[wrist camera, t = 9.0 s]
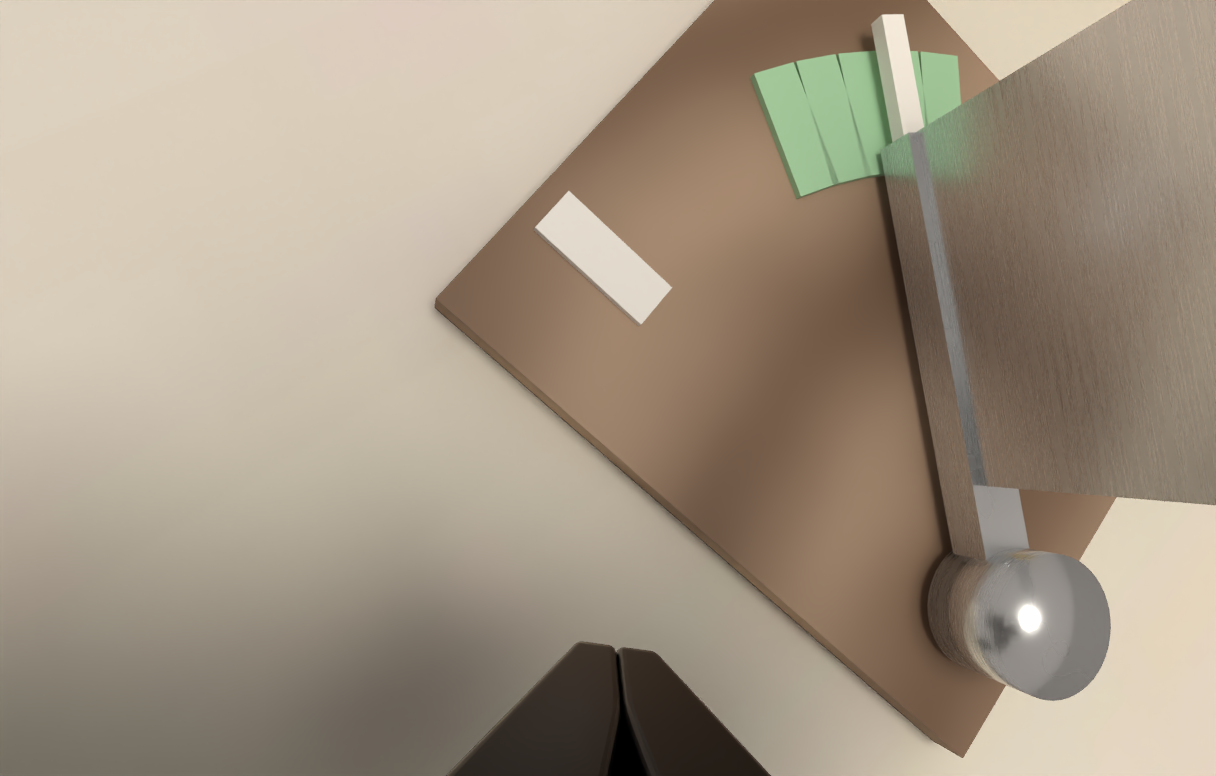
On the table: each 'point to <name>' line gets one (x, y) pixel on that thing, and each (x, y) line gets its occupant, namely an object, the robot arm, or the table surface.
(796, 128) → the board
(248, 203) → the table surface
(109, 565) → the table surface
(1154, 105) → the lever
